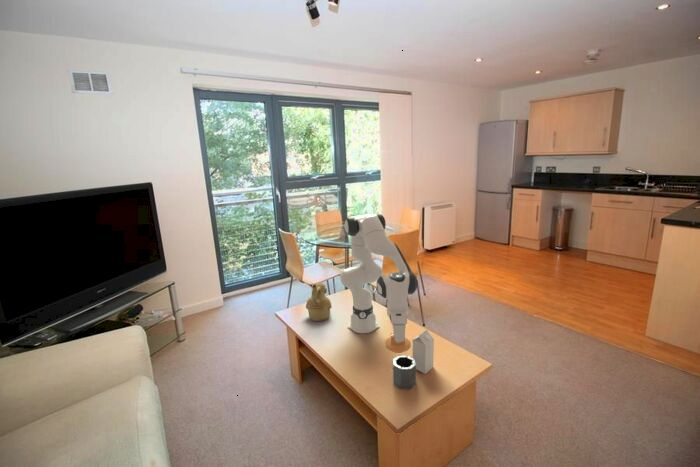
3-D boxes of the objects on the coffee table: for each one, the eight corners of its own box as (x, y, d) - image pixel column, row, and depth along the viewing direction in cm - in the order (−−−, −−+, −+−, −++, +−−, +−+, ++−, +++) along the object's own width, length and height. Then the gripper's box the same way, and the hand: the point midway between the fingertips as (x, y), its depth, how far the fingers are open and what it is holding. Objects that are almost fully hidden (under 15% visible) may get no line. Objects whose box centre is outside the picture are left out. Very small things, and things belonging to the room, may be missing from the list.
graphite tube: (392, 374, 148) (392, 355, 145) (413, 374, 147) (413, 355, 145) (394, 389, 138) (394, 369, 136) (416, 389, 137) (416, 369, 135)
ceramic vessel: (334, 310, 214) (332, 275, 208) (328, 325, 195) (326, 287, 190) (310, 309, 217) (307, 275, 211) (302, 324, 198) (299, 286, 192)
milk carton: (412, 367, 152) (412, 332, 147) (420, 361, 157) (420, 326, 152) (425, 374, 147) (425, 337, 142) (433, 367, 152) (434, 331, 147)
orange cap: (384, 342, 144) (384, 328, 143) (409, 342, 143) (409, 328, 142) (385, 356, 133) (385, 341, 132) (412, 356, 133) (412, 341, 131)
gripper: (388, 300, 145) (389, 327, 148) (391, 322, 125) (391, 353, 128) (402, 300, 144) (402, 327, 147) (407, 322, 124) (407, 353, 127)
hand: (397, 339), depth 137 cm, fingers closed on orange cap, 2 cm apart
